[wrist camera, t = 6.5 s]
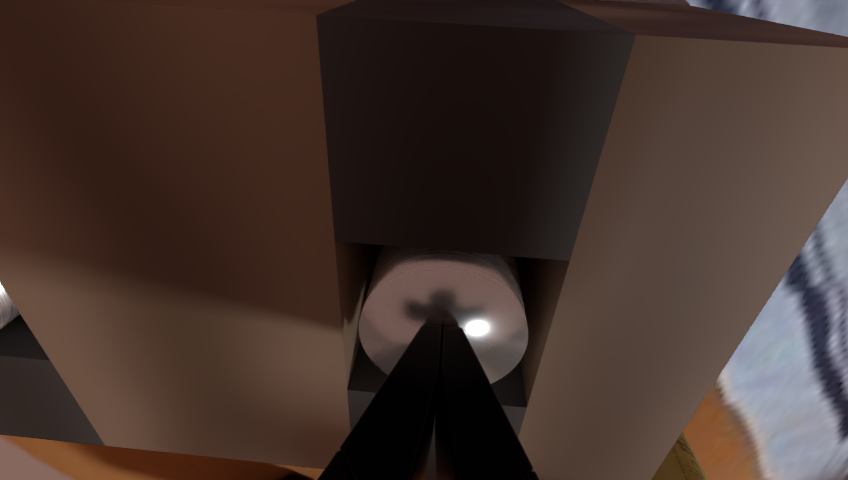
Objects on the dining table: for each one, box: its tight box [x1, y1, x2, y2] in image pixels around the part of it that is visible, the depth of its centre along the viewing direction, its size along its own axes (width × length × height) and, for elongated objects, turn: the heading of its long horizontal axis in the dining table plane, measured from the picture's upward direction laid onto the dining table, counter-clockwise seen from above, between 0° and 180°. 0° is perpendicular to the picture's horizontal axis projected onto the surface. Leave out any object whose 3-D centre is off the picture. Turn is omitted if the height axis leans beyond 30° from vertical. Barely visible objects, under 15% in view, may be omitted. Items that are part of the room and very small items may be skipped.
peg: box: [359, 245, 528, 383], centre depth 12 cm, size 4×4×7 cm
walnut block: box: [0, 0, 848, 480], centre depth 12 cm, size 24×12×7 cm, turn 88°
